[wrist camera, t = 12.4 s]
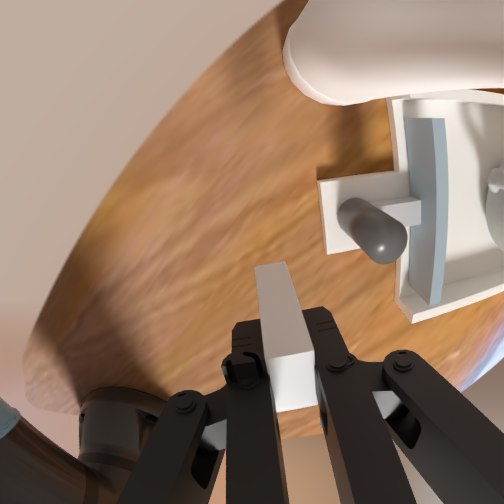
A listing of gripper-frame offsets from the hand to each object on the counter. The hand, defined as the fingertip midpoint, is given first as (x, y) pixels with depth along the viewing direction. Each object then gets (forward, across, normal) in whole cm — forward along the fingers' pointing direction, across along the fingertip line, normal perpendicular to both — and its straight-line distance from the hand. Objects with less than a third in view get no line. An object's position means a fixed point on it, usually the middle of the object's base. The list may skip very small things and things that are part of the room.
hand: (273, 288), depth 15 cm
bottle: (+11, +8, +12) cm, 18 cm away
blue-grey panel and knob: (+9, +10, 0) cm, 14 cm away
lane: (+11, +22, 0) cm, 24 cm away
